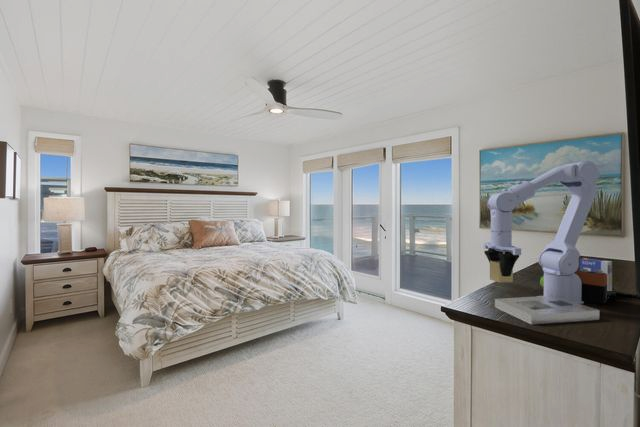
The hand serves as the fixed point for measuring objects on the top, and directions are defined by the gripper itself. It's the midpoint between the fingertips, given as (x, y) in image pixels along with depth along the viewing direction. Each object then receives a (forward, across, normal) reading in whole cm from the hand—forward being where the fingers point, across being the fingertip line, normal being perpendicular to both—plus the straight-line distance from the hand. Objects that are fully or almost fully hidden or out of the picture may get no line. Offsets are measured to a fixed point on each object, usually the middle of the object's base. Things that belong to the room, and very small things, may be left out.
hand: (501, 274), depth 101 cm
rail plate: (+9, +11, +5) cm, 15 cm away
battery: (+9, +4, +28) cm, 30 cm away
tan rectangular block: (+2, 0, 0) cm, 2 cm away
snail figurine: (+9, -10, +26) cm, 29 cm away
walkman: (+9, -2, +36) cm, 37 cm away
